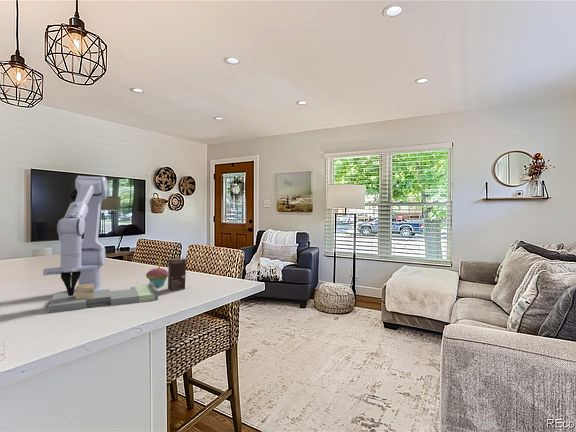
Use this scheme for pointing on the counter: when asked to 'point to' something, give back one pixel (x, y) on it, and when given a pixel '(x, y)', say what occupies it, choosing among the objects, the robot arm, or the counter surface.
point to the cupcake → (157, 276)
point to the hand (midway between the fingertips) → (70, 295)
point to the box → (176, 273)
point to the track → (103, 298)
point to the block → (84, 291)
